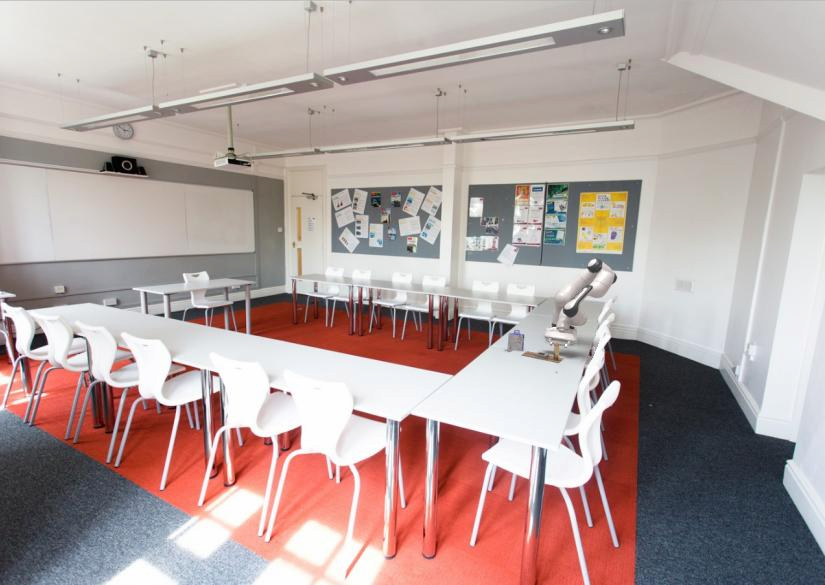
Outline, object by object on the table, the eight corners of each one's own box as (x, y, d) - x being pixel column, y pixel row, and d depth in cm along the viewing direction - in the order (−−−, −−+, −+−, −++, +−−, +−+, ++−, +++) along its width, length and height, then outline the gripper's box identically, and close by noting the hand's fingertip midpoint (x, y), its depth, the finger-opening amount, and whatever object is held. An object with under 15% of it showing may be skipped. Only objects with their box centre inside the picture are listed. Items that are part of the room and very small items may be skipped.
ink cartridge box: (523, 351, 273) (525, 330, 270) (521, 353, 268) (523, 332, 266) (509, 349, 277) (510, 328, 275) (507, 351, 272) (508, 330, 270)
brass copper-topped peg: (554, 358, 254) (555, 343, 252) (559, 359, 252) (560, 344, 250) (552, 359, 251) (553, 344, 250) (557, 360, 250) (558, 345, 248)
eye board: (527, 353, 269) (527, 347, 268) (564, 360, 255) (564, 354, 254) (520, 357, 259) (521, 351, 258) (558, 365, 245) (559, 359, 244)
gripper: (546, 323, 267) (541, 341, 260) (578, 328, 256) (574, 346, 250) (547, 328, 271) (542, 346, 265) (579, 333, 261) (575, 351, 254)
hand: (558, 346), depth 257 cm, fingers open, 8 cm apart
